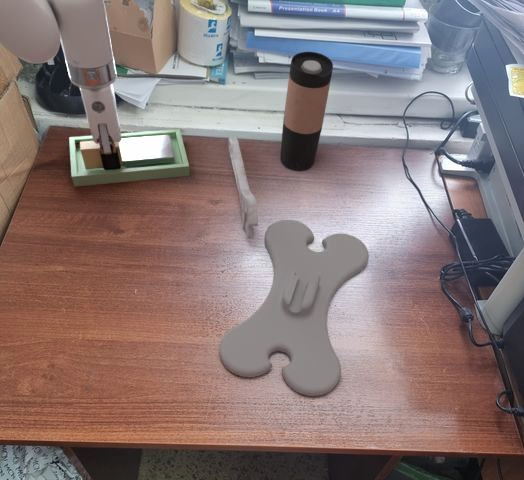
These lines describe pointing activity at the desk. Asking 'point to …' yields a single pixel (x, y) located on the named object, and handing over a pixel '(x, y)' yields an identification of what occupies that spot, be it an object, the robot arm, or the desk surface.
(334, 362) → the holder
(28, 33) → the robot arm
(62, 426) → the desk surface
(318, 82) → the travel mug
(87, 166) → the cleaver
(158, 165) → the tray
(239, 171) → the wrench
